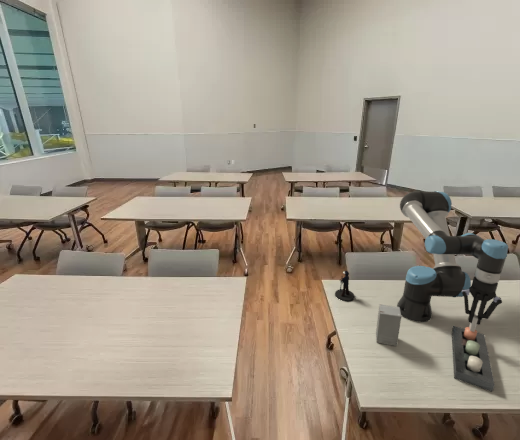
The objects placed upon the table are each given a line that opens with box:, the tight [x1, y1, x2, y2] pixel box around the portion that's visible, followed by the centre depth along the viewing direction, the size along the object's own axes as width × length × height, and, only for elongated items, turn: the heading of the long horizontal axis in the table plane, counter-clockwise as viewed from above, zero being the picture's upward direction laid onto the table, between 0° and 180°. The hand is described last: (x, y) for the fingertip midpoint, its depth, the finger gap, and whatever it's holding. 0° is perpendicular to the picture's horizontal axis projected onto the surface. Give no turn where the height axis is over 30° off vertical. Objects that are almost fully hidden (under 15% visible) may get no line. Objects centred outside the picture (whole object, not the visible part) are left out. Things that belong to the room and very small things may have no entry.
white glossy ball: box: [467, 356, 483, 372], centre depth 103 cm, size 4×4×4 cm
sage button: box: [465, 340, 480, 355], centre depth 110 cm, size 4×4×4 cm
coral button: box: [463, 326, 478, 341], centre depth 118 cm, size 4×4×4 cm
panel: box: [451, 325, 495, 393], centre depth 111 cm, size 11×28×4 cm, turn 149°
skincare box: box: [375, 303, 403, 347], centre depth 119 cm, size 8×7×16 cm
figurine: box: [334, 270, 355, 302], centre depth 150 cm, size 10×10×15 cm
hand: (471, 329), depth 117 cm, fingers closed
